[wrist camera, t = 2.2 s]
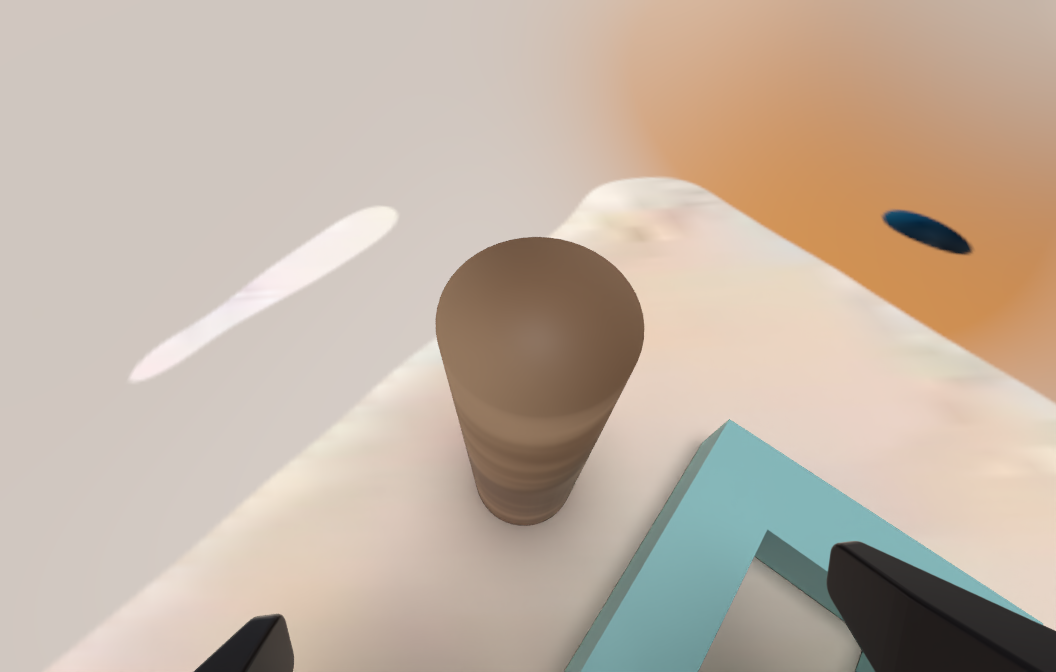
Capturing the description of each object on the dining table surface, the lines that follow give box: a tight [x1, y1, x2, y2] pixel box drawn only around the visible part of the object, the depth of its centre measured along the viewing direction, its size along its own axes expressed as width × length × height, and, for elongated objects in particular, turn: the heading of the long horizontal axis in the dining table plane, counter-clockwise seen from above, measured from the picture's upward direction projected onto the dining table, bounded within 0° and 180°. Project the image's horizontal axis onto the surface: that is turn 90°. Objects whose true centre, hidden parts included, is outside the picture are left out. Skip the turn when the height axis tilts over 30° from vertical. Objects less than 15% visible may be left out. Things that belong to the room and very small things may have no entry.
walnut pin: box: [436, 237, 644, 525], centre depth 15 cm, size 4×4×12 cm
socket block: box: [564, 419, 1043, 672], centre depth 16 cm, size 11×11×3 cm
